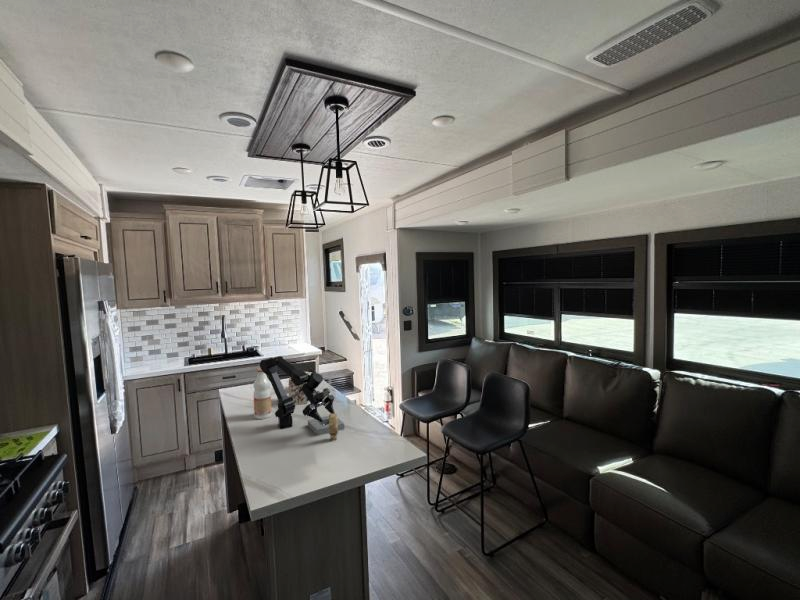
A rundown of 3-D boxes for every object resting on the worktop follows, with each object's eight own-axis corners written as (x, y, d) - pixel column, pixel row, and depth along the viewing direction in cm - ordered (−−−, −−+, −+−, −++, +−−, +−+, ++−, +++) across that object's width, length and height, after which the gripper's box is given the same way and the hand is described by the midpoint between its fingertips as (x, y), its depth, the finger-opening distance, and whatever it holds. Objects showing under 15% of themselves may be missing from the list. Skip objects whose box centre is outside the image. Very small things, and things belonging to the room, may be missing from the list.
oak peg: (331, 441, 183) (330, 417, 182) (328, 438, 186) (327, 414, 185) (339, 439, 185) (338, 415, 184) (336, 436, 189) (335, 412, 188)
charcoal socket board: (317, 435, 190) (317, 430, 190) (307, 425, 203) (307, 420, 202) (344, 428, 198) (344, 423, 198) (333, 419, 211) (333, 414, 210)
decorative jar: (288, 405, 234) (287, 377, 232) (289, 399, 245) (288, 372, 244) (308, 403, 237) (307, 376, 235) (308, 397, 248) (307, 371, 247)
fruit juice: (262, 420, 210) (260, 372, 208) (250, 417, 215) (248, 370, 213) (275, 414, 219) (273, 368, 217) (263, 412, 223) (261, 366, 221)
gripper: (306, 389, 180) (324, 415, 175) (331, 379, 196) (348, 403, 191) (294, 402, 184) (312, 428, 180) (320, 392, 200) (337, 415, 196)
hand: (328, 418), depth 186 cm, fingers open, 9 cm apart
